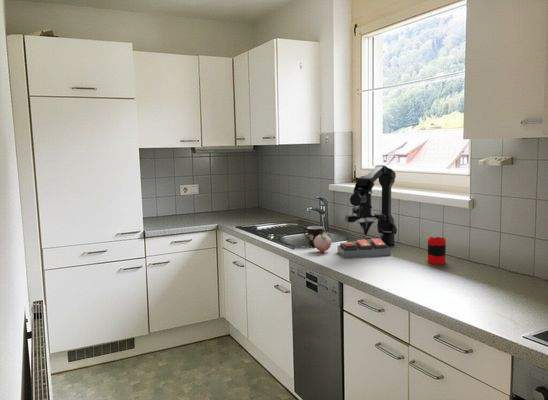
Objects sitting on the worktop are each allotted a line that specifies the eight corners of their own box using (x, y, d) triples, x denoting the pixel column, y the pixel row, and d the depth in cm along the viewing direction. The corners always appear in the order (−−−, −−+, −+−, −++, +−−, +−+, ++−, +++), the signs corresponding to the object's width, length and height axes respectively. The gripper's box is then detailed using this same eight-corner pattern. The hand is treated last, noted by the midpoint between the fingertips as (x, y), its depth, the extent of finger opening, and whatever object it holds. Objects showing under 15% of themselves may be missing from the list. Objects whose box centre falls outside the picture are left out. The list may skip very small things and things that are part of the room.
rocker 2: (379, 240, 235) (379, 238, 235) (385, 246, 228) (385, 244, 227) (371, 241, 235) (371, 238, 234) (376, 247, 227) (376, 244, 227)
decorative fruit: (334, 253, 234) (334, 233, 232) (320, 255, 230) (320, 235, 229) (325, 249, 242) (324, 230, 241) (311, 251, 239) (310, 232, 237)
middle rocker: (365, 241, 234) (365, 239, 234) (370, 247, 227) (370, 245, 226) (356, 242, 234) (356, 239, 233) (361, 248, 226) (361, 245, 226)
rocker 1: (350, 245, 233) (350, 242, 233) (355, 245, 225) (355, 243, 226) (342, 245, 233) (341, 242, 233) (346, 246, 225) (346, 243, 225)
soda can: (430, 265, 208) (430, 238, 206) (425, 260, 215) (425, 235, 214) (447, 264, 208) (448, 238, 206) (442, 260, 215) (442, 234, 213)
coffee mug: (326, 246, 248) (326, 228, 247) (311, 248, 245) (311, 229, 244) (316, 242, 259) (316, 224, 257) (302, 244, 256) (302, 226, 254)
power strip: (381, 249, 238) (381, 240, 237) (390, 255, 226) (390, 245, 226) (337, 252, 235) (337, 242, 235) (344, 258, 223) (344, 248, 223)
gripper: (377, 200, 234) (377, 231, 236) (341, 202, 231) (341, 233, 233) (386, 203, 223) (386, 235, 225) (348, 205, 220) (348, 237, 222)
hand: (365, 235), depth 227 cm, fingers closed
